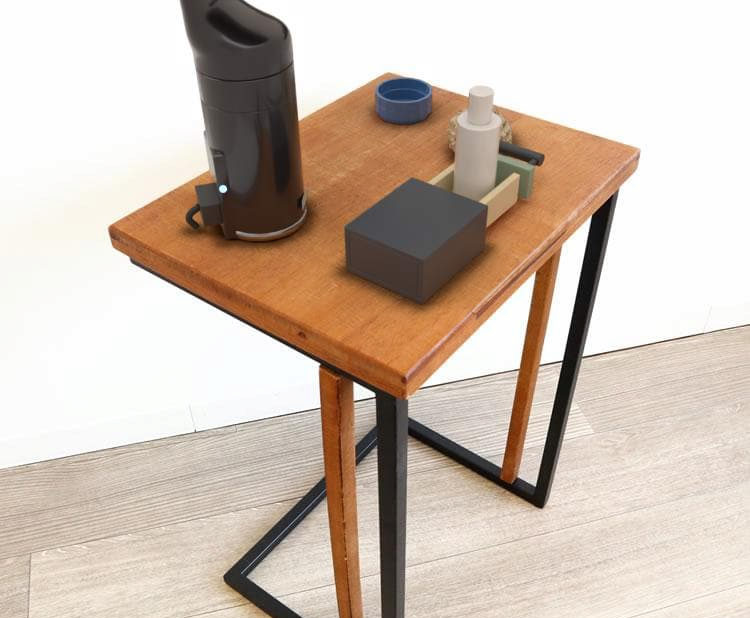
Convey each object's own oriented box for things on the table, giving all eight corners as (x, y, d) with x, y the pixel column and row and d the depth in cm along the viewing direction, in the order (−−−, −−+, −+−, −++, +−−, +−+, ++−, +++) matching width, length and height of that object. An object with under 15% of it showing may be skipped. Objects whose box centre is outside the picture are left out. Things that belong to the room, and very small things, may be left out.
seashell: (448, 152, 106) (443, 157, 97) (451, 102, 104) (447, 102, 95) (510, 156, 105) (511, 162, 96) (515, 106, 103) (516, 106, 94)
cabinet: (410, 219, 90) (411, 176, 86) (484, 249, 86) (488, 205, 82) (345, 270, 84) (343, 226, 80) (422, 305, 79) (423, 260, 76)
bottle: (450, 207, 88) (456, 99, 80) (454, 186, 91) (461, 79, 83) (492, 211, 88) (502, 102, 79) (495, 189, 91) (505, 82, 82)
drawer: (488, 158, 98) (491, 129, 95) (550, 179, 94) (554, 150, 92) (417, 214, 89) (418, 184, 87) (481, 239, 86) (484, 209, 83)
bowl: (385, 129, 105) (385, 106, 103) (368, 104, 110) (368, 81, 108) (439, 120, 106) (440, 97, 104) (420, 96, 111) (421, 73, 109)
